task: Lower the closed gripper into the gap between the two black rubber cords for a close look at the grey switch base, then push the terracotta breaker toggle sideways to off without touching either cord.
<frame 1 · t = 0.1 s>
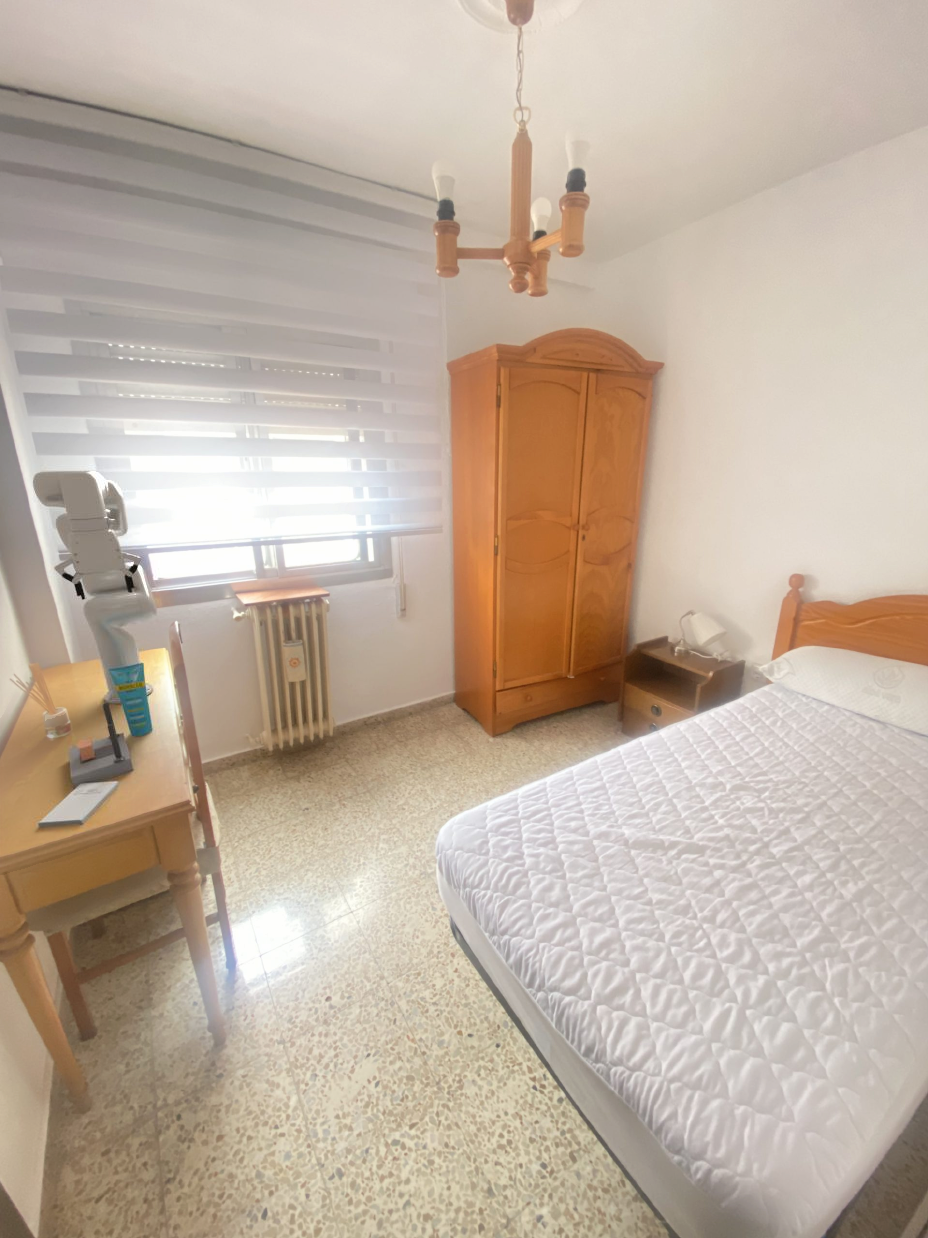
hand: (107, 594, 123), 37 cm above the table, tool pointing down, fingers open, 9 cm apart
tube: (142, 733, 130), on the table
cord front: (114, 742, 111), point 8 cm above the table, hinge at 0.0°
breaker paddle: (86, 749, 114), point 5 cm above the table, slide at 0.0 cm
grey switch base: (102, 764, 116), on the table
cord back: (109, 719, 121), point 8 cm above the table, hinge at 0.0°
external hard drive: (82, 807, 103), on the table
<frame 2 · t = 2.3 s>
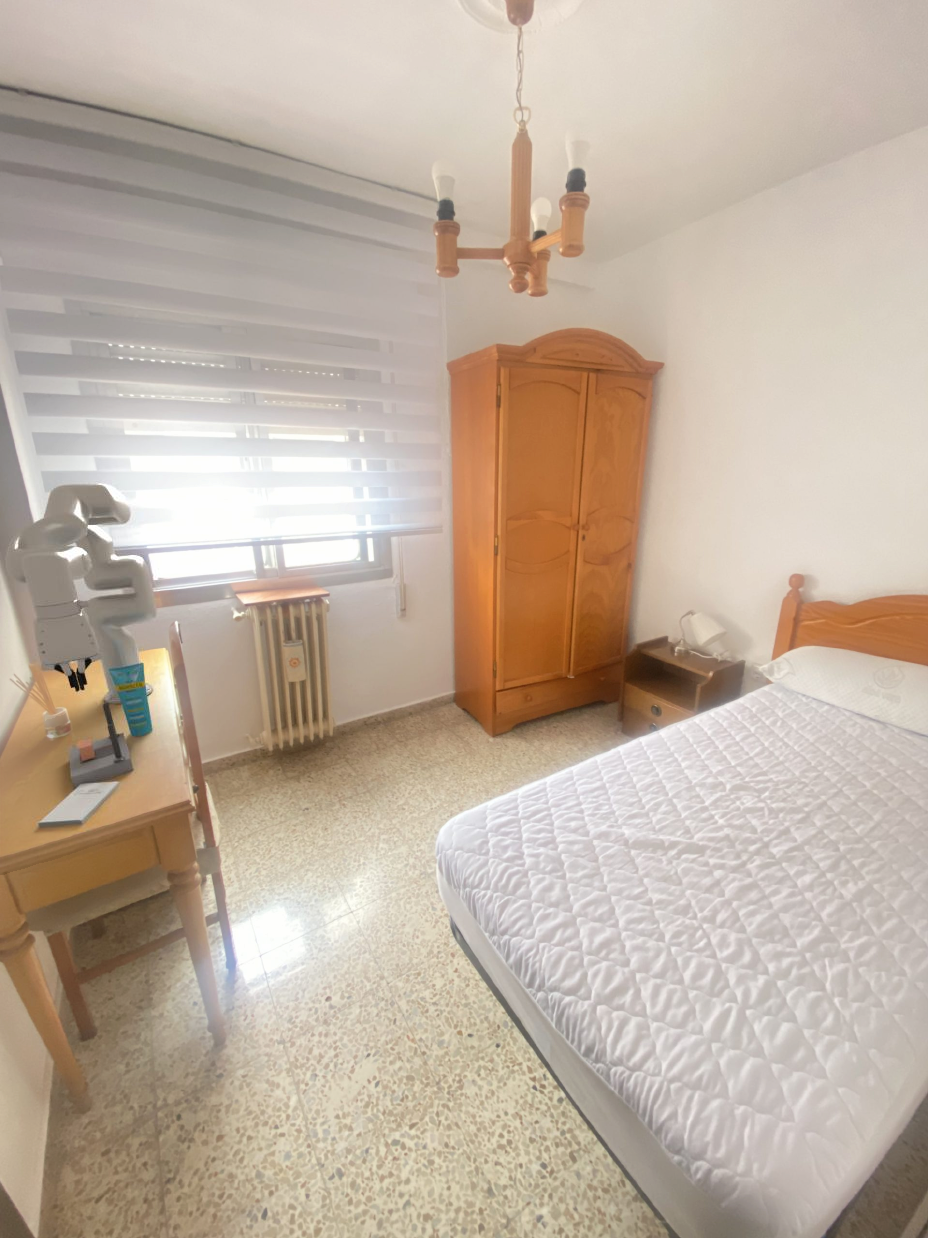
hand: (80, 688, 110), 20 cm above the table, tool pointing down, fingers closed
nothing on the table moved.
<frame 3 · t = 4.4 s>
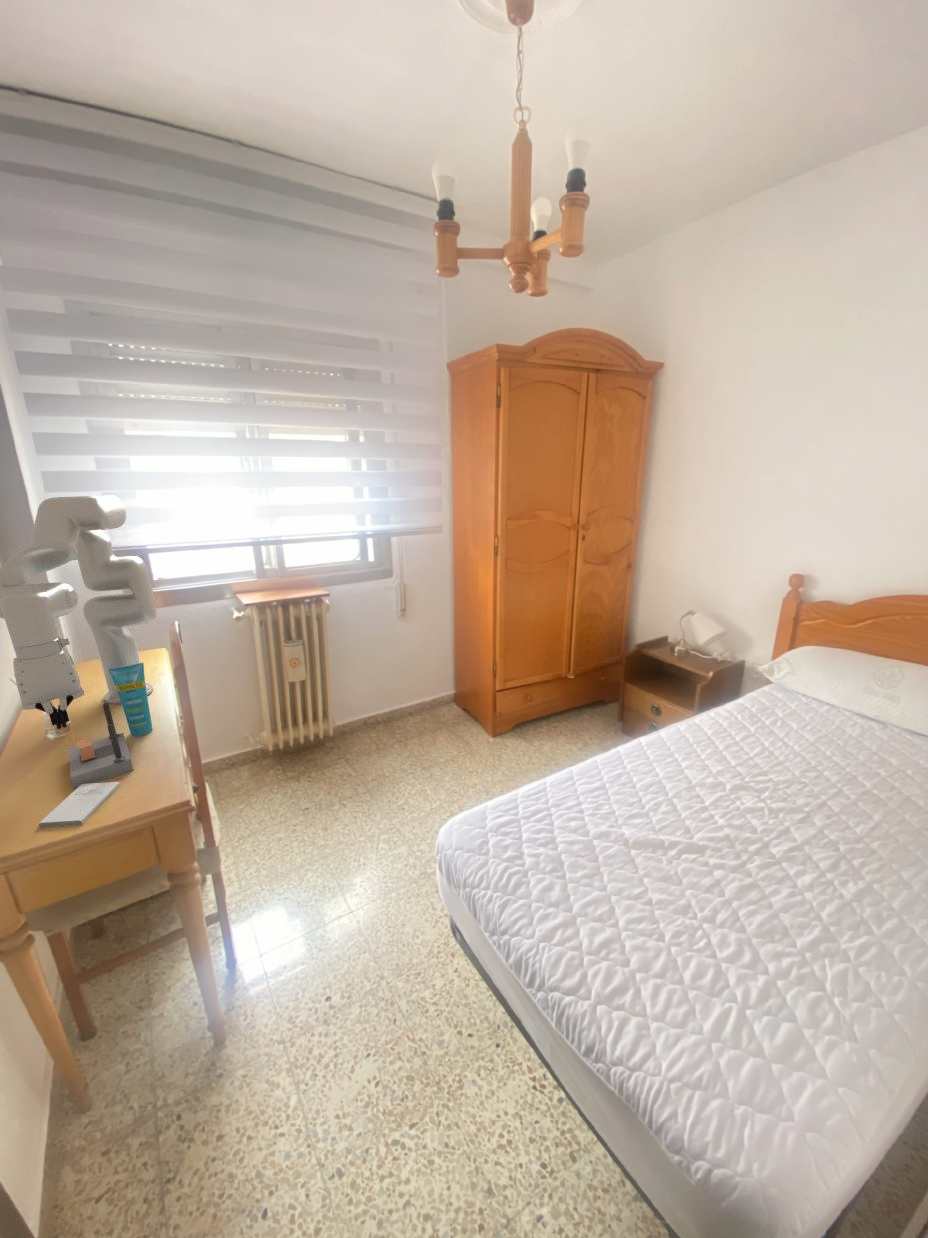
hand: (62, 725, 110), 12 cm above the table, tool pointing down, fingers closed
nothing on the table moved.
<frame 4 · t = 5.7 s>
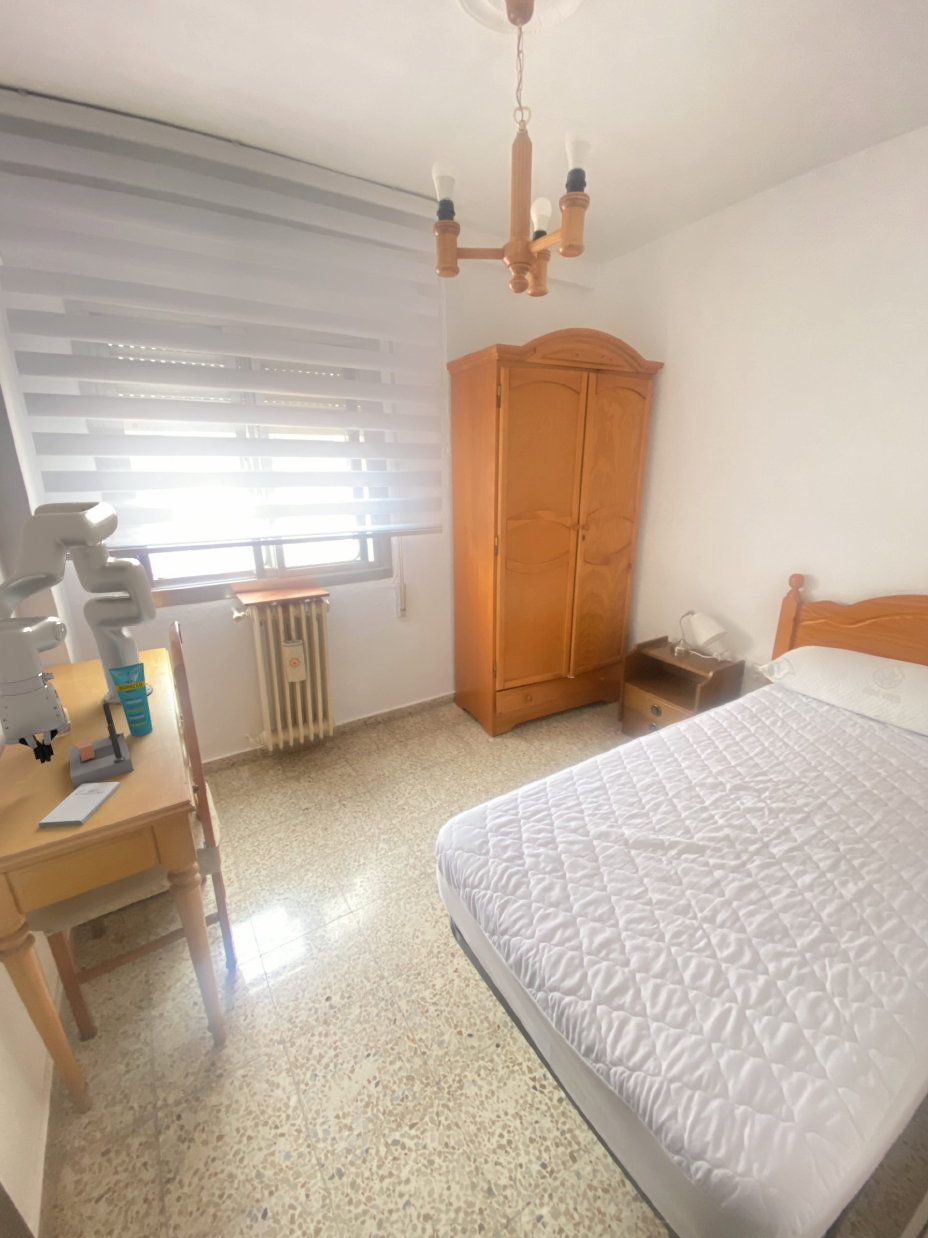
hand: (46, 759, 109), 5 cm above the table, tool pointing down, fingers closed
nothing on the table moved.
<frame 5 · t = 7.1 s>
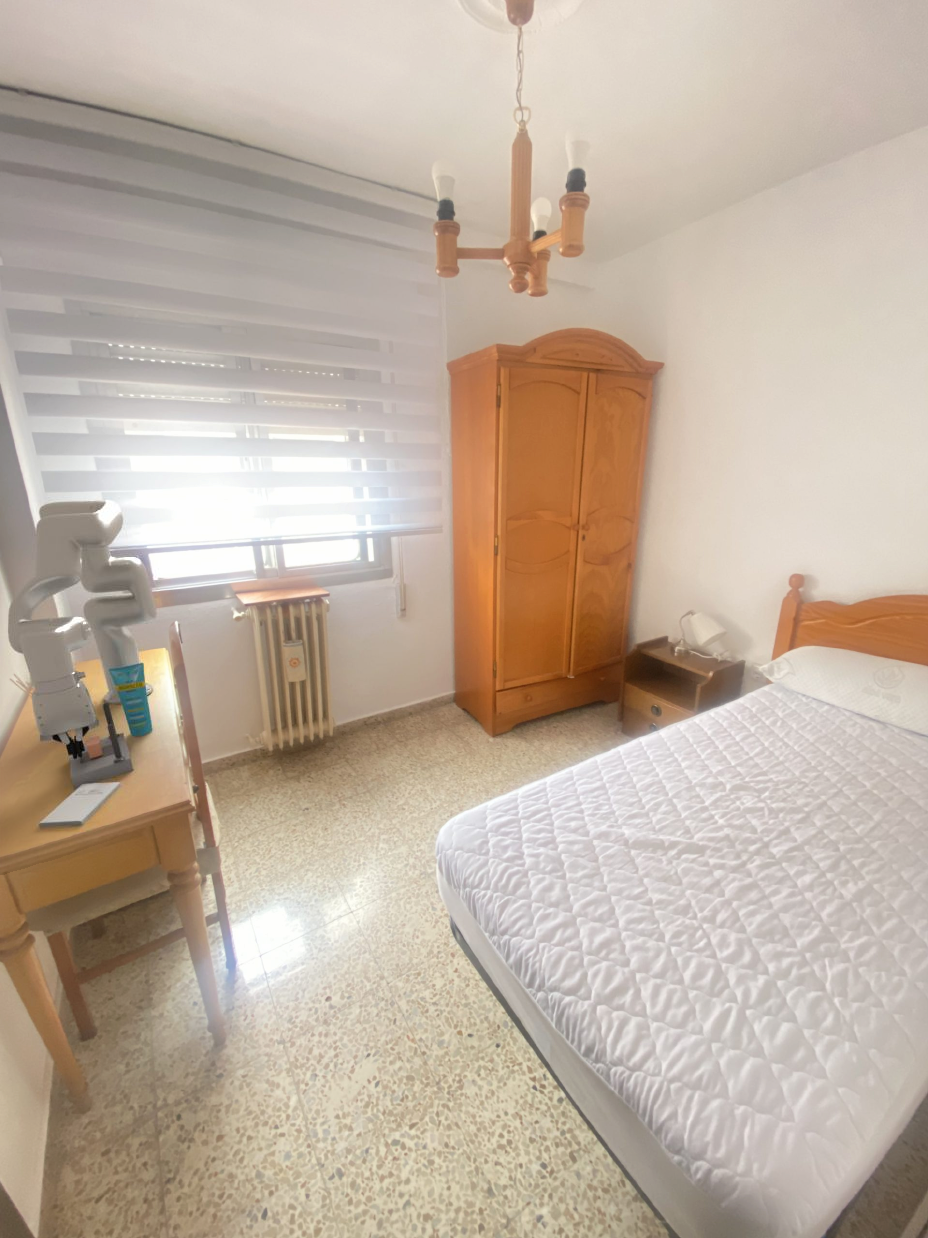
hand: (77, 755, 113), 4 cm above the table, tool pointing down, fingers closed
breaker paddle: (94, 747, 115), point 5 cm above the table, slide at 1.5 cm, touching gripper
everything else where it was.
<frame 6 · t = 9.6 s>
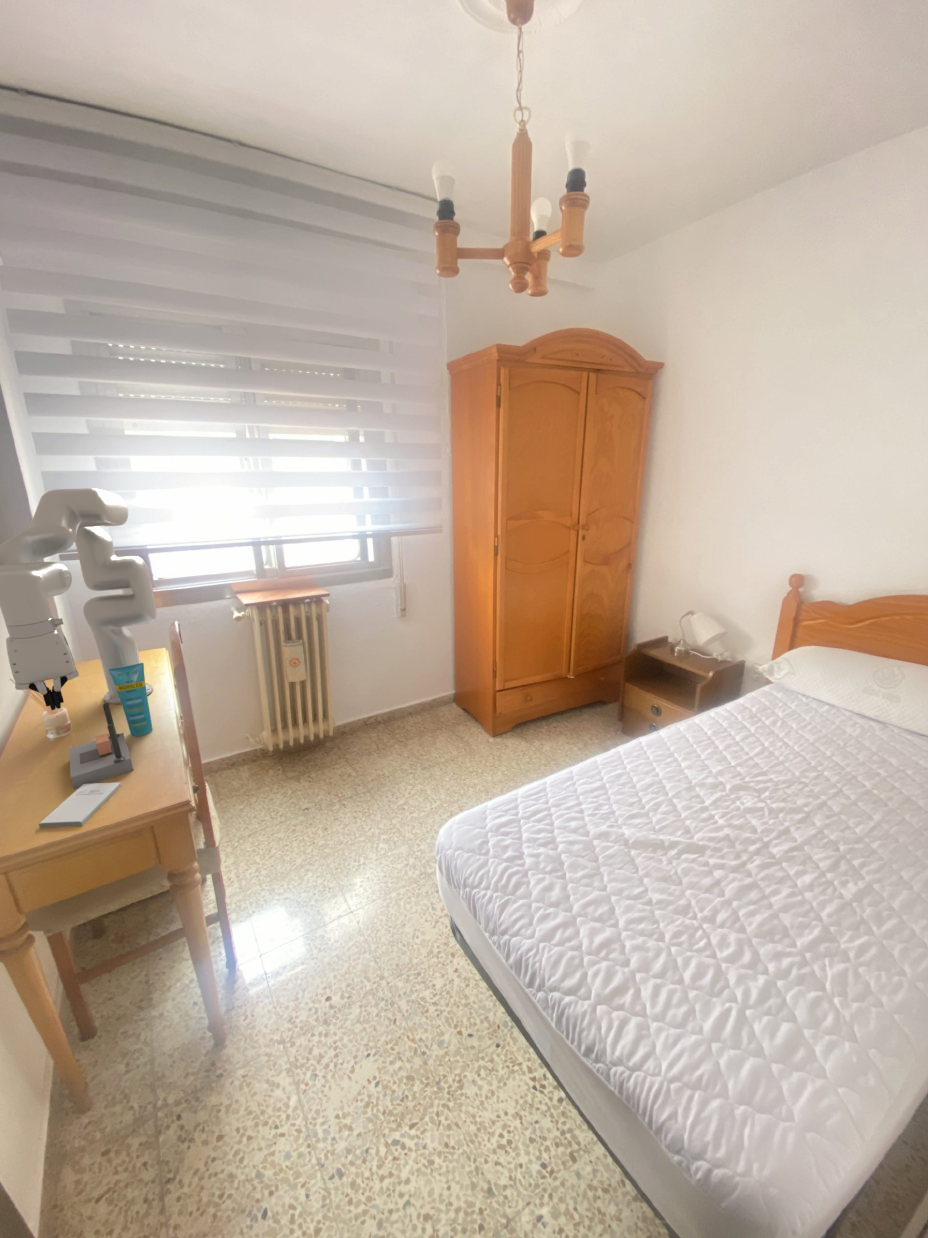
hand: (56, 707, 108), 17 cm above the table, tool pointing down, fingers closed
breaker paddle: (103, 744, 116), point 5 cm above the table, slide at 3.2 cm
everything else where it was.
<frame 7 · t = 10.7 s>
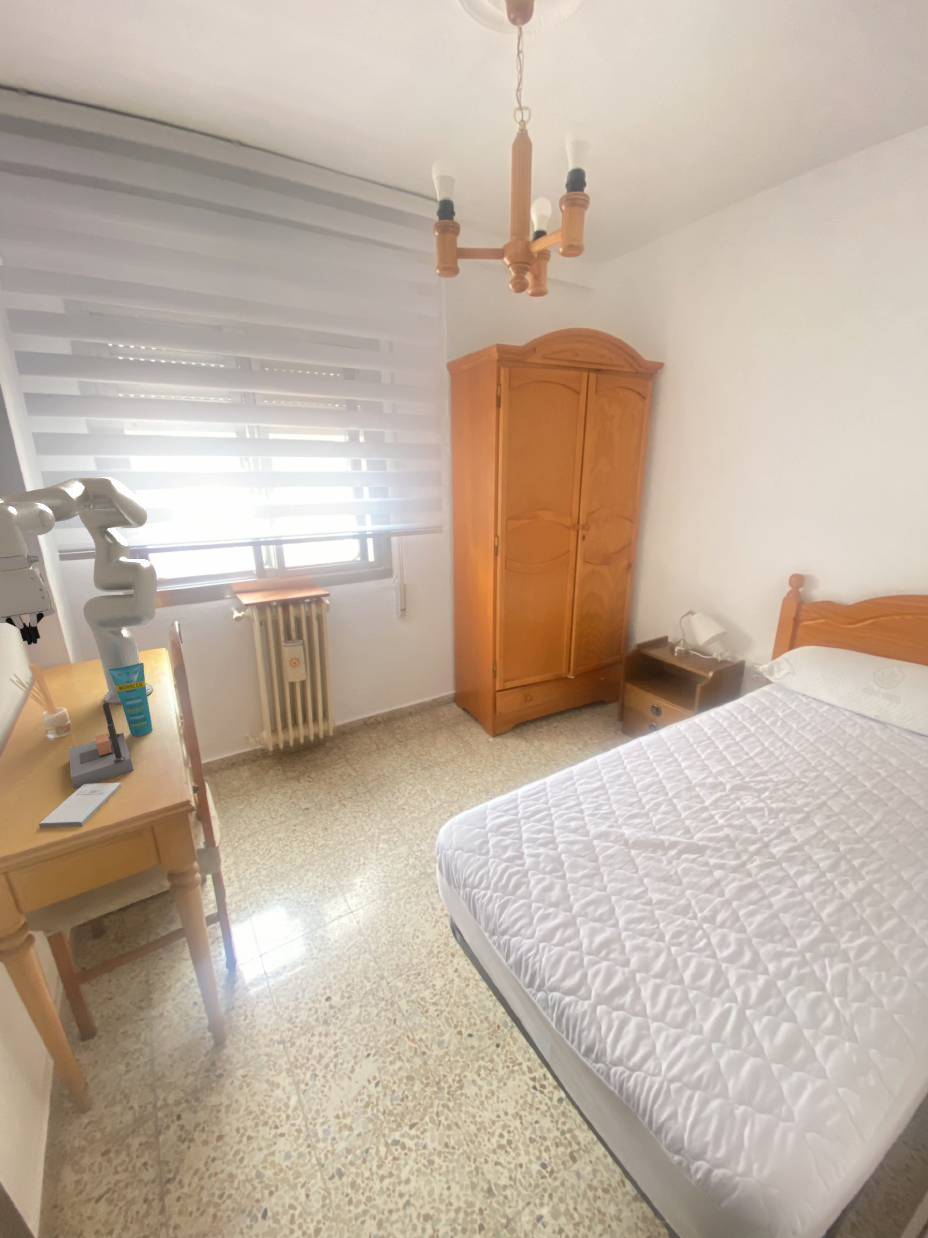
hand: (32, 642, 113), 29 cm above the table, tool pointing down, fingers closed
nothing on the table moved.
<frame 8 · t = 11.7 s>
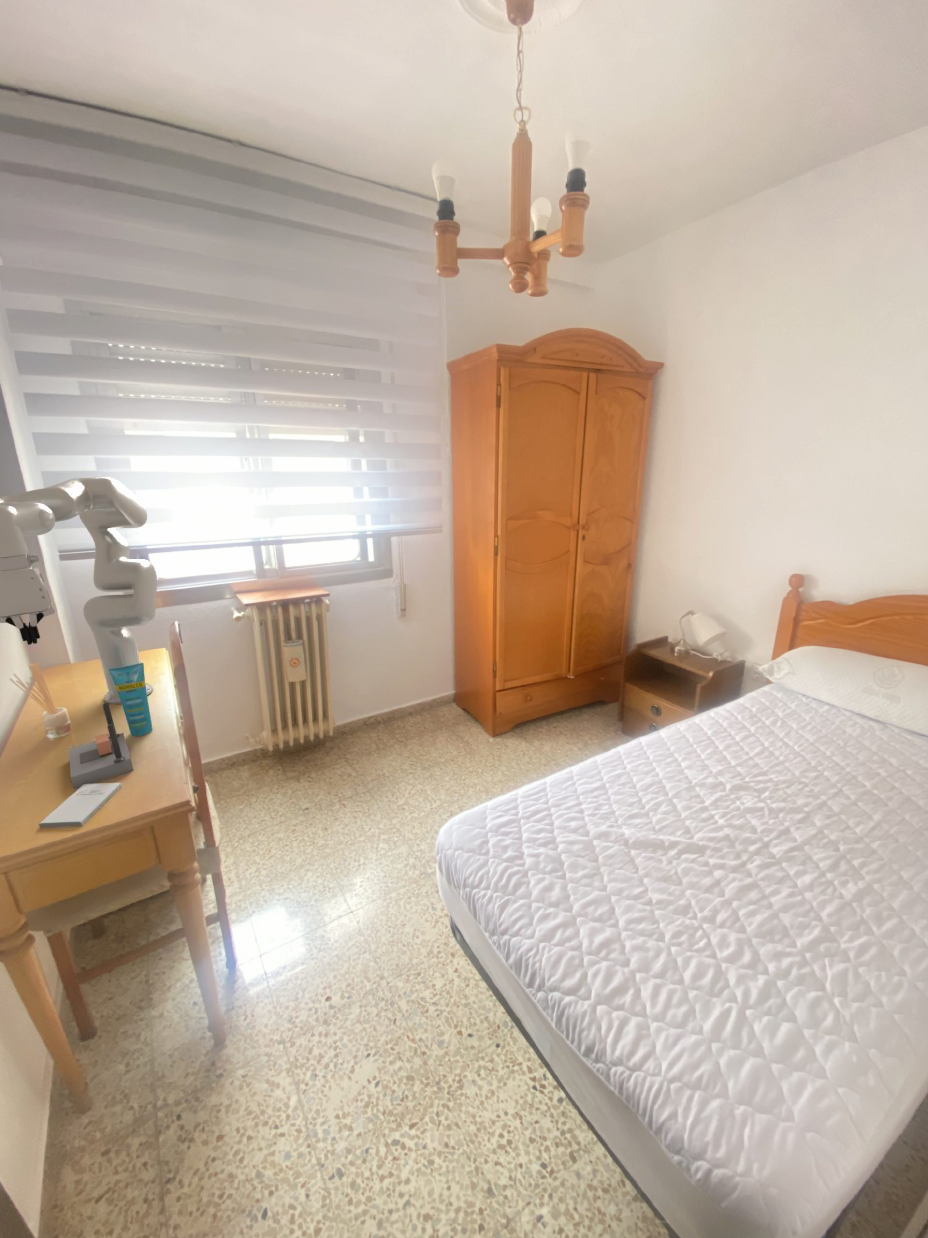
hand: (32, 642, 113), 29 cm above the table, tool pointing down, fingers closed
nothing on the table moved.
at the end: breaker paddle slide at 3.2 cm; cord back at +0° (first picture: +0°); cord front at +0° (first picture: +0°) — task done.
